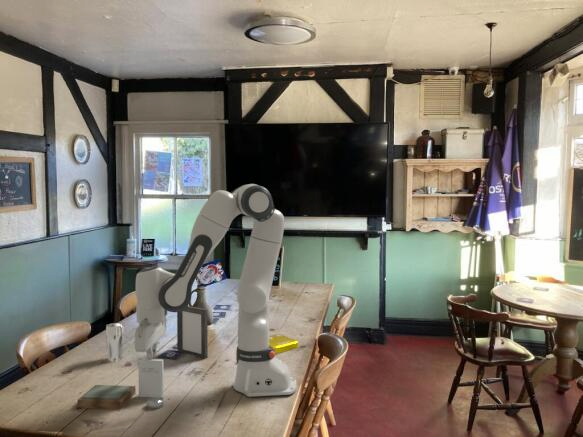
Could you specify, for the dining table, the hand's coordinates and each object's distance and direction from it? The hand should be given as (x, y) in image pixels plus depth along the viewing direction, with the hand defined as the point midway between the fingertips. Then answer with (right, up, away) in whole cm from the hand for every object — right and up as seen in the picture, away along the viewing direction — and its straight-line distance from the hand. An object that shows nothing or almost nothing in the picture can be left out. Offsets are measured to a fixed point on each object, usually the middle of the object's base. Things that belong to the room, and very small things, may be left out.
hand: (151, 356), depth 161 cm
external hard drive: (0, -14, +1) cm, 14 cm away
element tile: (+40, -12, +51) cm, 66 cm away
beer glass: (-25, -12, +34) cm, 44 cm away
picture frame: (+5, -12, +40) cm, 42 cm away
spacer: (+3, -14, -7) cm, 16 cm away
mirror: (-14, -14, -3) cm, 20 cm away
